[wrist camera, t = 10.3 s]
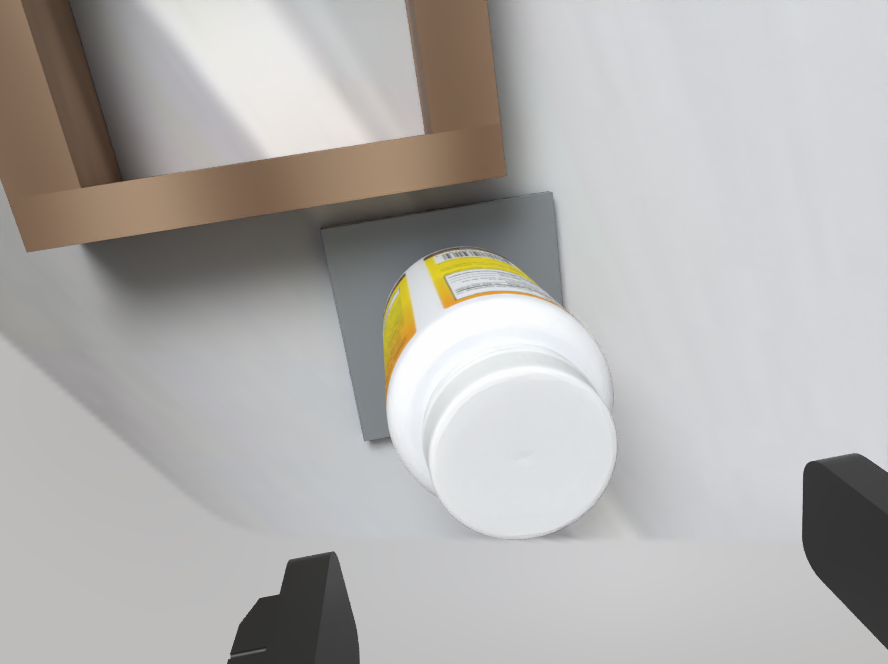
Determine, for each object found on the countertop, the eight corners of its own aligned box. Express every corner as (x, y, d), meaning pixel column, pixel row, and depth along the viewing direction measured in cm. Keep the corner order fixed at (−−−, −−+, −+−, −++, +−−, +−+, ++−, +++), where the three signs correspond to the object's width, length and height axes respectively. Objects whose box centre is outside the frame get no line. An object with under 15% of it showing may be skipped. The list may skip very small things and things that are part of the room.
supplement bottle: (435, 418, 23) (476, 618, 14) (351, 297, 22) (330, 427, 12) (563, 340, 23) (700, 488, 13) (488, 211, 21) (581, 272, 12)
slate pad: (548, 191, 22) (552, 192, 21) (567, 398, 24) (571, 403, 24) (321, 228, 21) (320, 229, 21) (364, 435, 24) (364, 441, 23)
